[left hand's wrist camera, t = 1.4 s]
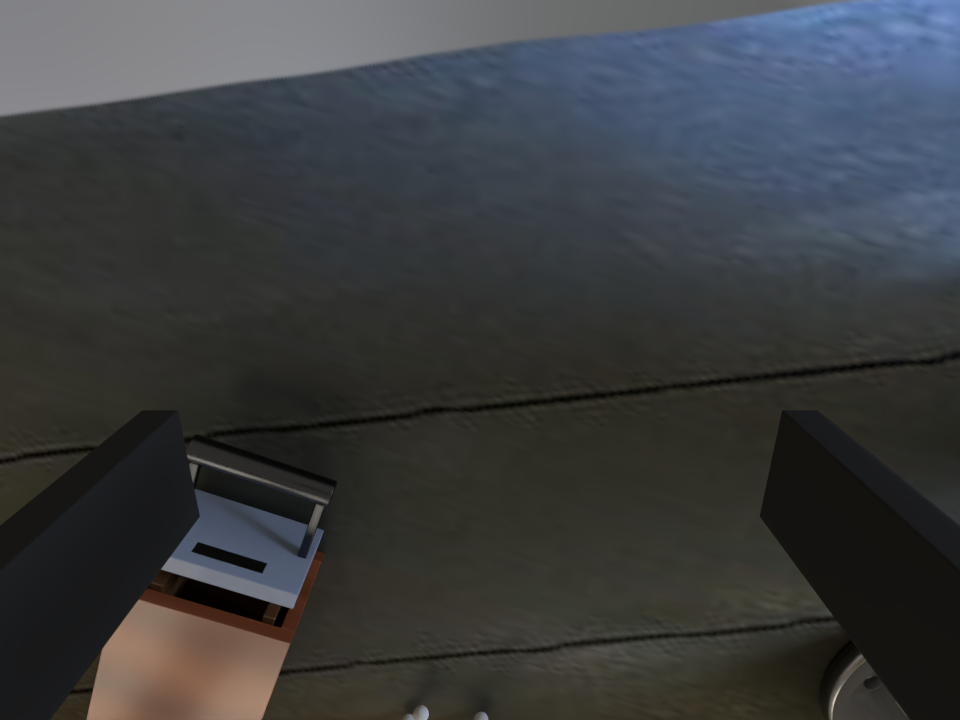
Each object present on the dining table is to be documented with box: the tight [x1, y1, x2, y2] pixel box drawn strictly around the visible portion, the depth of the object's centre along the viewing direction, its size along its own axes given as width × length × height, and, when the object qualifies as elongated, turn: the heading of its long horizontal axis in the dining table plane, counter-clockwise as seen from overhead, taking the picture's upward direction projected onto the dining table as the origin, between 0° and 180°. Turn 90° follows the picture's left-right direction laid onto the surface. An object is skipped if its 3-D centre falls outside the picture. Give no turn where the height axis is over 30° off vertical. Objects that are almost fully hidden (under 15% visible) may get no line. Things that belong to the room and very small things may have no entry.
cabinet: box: [86, 551, 324, 720], centre depth 41 cm, size 16×11×8 cm, turn 158°
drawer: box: [149, 435, 337, 627], centre depth 39 cm, size 21×9×6 cm, turn 158°
